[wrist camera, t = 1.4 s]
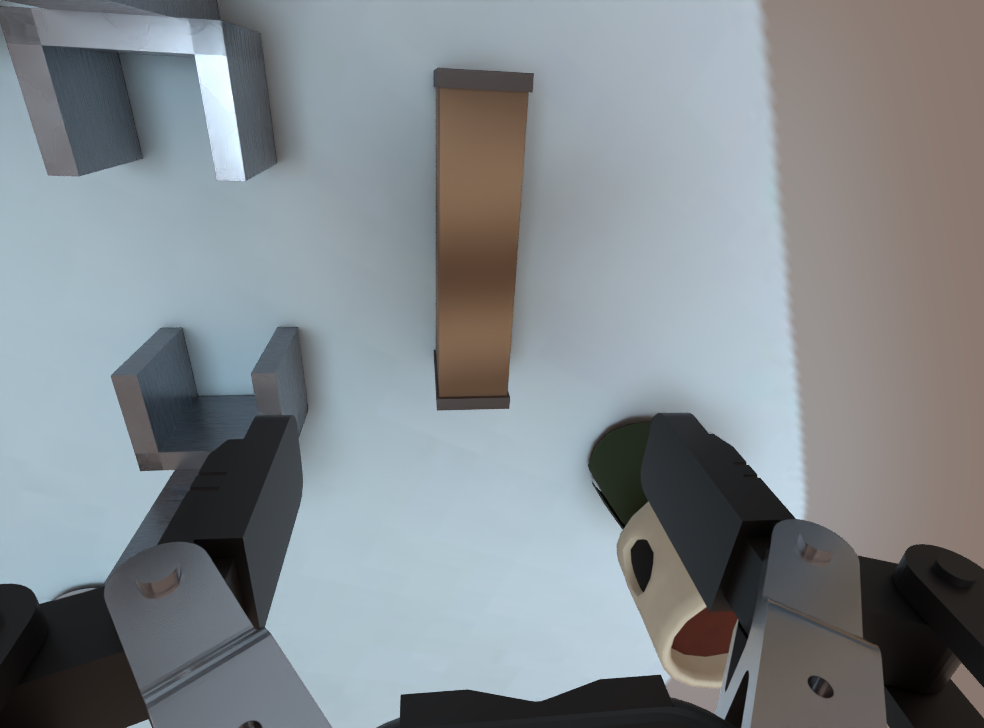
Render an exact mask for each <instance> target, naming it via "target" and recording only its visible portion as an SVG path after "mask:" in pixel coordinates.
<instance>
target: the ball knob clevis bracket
mask: <svg viewBox="0 0 984 728" xmlns="http://www.w3.org/2000/svg"><path fill="white" fill-rule="evenodd" d="M5 1H10V2H15V3H20V4H25V5H30V6H35V7H40V8H45V9H38V8H23V7H8V6H0V23H1V26H2V30H3V33H4V36H5V39H6V42H7V46H8V49H9V52H10V55H11V58H12V62H13V65H14V68H15V71H16V74H17V78H18V81H19V84H20V87H21V90H22V94H23V97H24V100H25V103H26V106H27V110H28V113H29V116H30V119H31V122H32V126H33V129H34V132H35V135H36V138H37V142H38V145H39V148H40V151H41V154H42V158H43V161H44V164H45V167H46V170H47V174H48V175H52V176H82V175H86V174H89V173H93V172H97V171H100V170H104V169H107V168H111V167H115V166H118V165H122V164H126V163H129V162H133V161H136V160H140V159H142V154H141V150H140V146H139V141H138V137H137V133H136V128H135V124H134V120H133V116H132V111H131V107H130V103H129V98H128V94H127V90H126V86H125V81H124V77H123V73H122V68H121V64H120V60H119V56H118V53H128V54H146V55H163V56H181V57H195V60H196V66H197V71H198V77H199V83H200V88H201V94H202V100H203V105H204V111H205V117H206V122H207V128H208V133H209V139H210V145H211V150H212V156H213V162H214V167H215V173H216V179H217V180H224V181H247V180H248V179H250V178H252V177H254V176H255V175H257V174H259V173H261V172H263V171H264V170H266V169H268V168H270V167H271V166H273V165H275V164H277V160H276V153H275V145H274V137H273V129H272V121H271V113H270V105H269V97H268V89H267V81H266V74H265V66H264V58H263V50H262V42H261V34H260V33H259V32H255V31H252V30H249V29H246V28H243V27H240V26H237V25H234V24H230V23H227V22H224V21H221V20H220V19H219V12H218V6H217V0H5ZM251 376H252V382H253V388H254V393H255V395H243V396H198V394H197V390H196V386H195V382H194V377H193V373H192V369H191V364H190V360H189V356H188V352H187V347H186V343H185V339H184V334H183V330H182V328H160V329H159V330H158V331H157V332H156V333H155V334H154V335H153V336H152V337H151V338H150V339H149V340H148V341H146V342H145V343H144V344H143V345H142V346H141V347H140V348H139V349H138V350H137V351H136V352H135V353H134V354H133V355H132V356H131V357H130V358H129V359H128V360H127V361H125V362H124V363H123V364H122V365H121V366H120V367H119V368H118V369H117V370H116V371H115V372H114V373H113V374H112V375H111V378H112V382H113V385H114V388H115V391H116V394H117V398H118V401H119V404H120V407H121V410H122V414H123V417H124V420H125V423H126V426H127V430H128V433H129V436H130V439H131V442H132V446H133V449H134V452H135V455H136V458H137V462H138V465H139V468H140V471H155V470H175V471H174V472H173V474H172V476H171V477H170V479H169V480H168V482H167V484H166V485H165V487H164V488H163V490H162V492H161V493H160V495H159V496H158V498H157V500H156V501H155V503H154V504H153V506H152V508H151V509H150V511H149V512H148V514H147V516H146V517H145V519H144V520H143V522H142V523H141V525H140V527H139V528H138V530H137V531H136V533H135V535H134V536H133V538H132V539H131V541H130V543H129V544H128V546H127V547H126V549H125V551H124V552H123V554H122V555H121V557H120V559H119V560H118V562H117V563H116V565H115V567H114V568H113V570H112V571H111V573H110V575H109V576H108V578H107V579H106V581H105V583H104V584H103V586H105V585H106V583H107V581H108V580H109V578H110V576H111V575H112V574H113V573H114V571H115V570H116V569H117V568H118V567H119V566H120V565H121V564H123V563H124V562H125V561H126V560H128V559H129V558H131V557H132V556H134V555H136V554H137V553H139V552H141V551H143V550H145V549H148V548H151V547H153V546H157V544H158V542H159V540H160V539H161V537H162V535H163V533H164V532H165V530H166V528H167V526H168V525H169V523H170V521H171V519H172V518H173V516H174V514H175V512H176V511H177V509H178V507H179V505H180V504H181V502H182V500H183V499H184V497H185V495H186V493H187V492H188V491H190V486H191V485H192V483H193V481H194V479H195V478H196V476H198V475H199V473H198V472H199V471H200V469H201V467H202V465H203V464H204V462H205V460H206V458H207V457H208V455H209V454H210V453H211V452H213V451H214V450H215V449H216V448H218V447H219V446H220V445H222V444H223V443H224V442H225V441H227V440H228V439H244V437H245V435H246V433H247V431H248V429H249V427H250V425H251V423H252V421H253V419H254V417H255V416H257V415H294V416H295V419H296V423H297V430H298V438H299V435H300V432H301V429H302V426H303V423H304V420H305V417H306V414H307V411H308V405H307V397H306V389H305V381H304V373H303V366H302V358H301V350H300V342H299V334H298V327H277V329H276V331H275V333H274V334H273V336H272V338H271V340H270V341H269V343H268V345H267V347H266V348H265V350H264V352H263V354H262V355H261V357H260V359H259V361H258V362H257V364H256V366H255V367H254V369H253V371H252V373H251Z"/></svg>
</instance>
